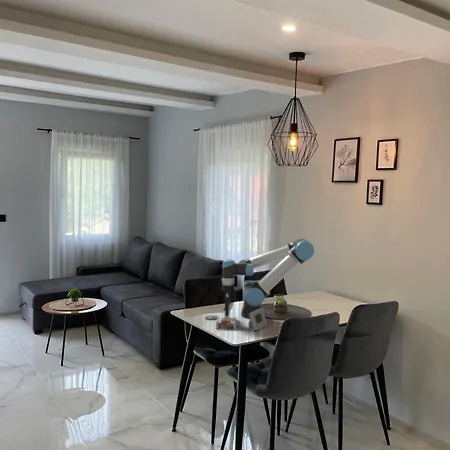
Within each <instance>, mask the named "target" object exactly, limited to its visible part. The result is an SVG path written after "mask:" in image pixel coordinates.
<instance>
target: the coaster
mask: <svg viewBox="0 0 450 450" xmlns="http://www.w3.org/2000/svg"><path fill="white" fill-rule="evenodd" d="M217 317H219V316H218V315H206V316H204V319H205V320H209V321H217Z"/></svg>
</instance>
